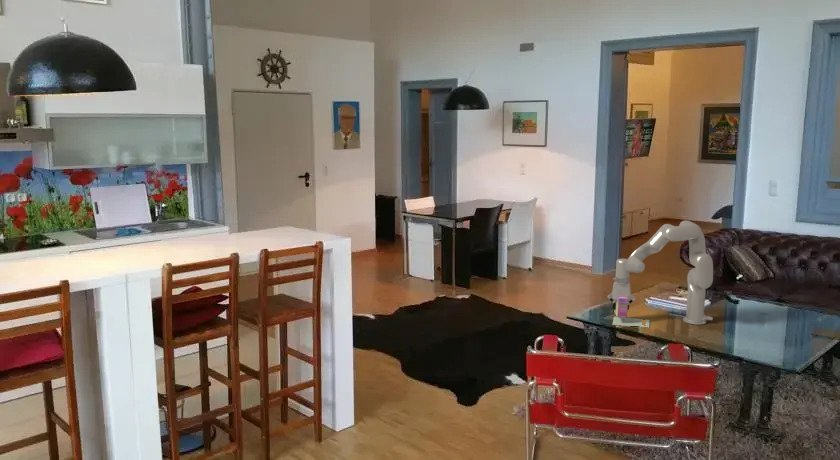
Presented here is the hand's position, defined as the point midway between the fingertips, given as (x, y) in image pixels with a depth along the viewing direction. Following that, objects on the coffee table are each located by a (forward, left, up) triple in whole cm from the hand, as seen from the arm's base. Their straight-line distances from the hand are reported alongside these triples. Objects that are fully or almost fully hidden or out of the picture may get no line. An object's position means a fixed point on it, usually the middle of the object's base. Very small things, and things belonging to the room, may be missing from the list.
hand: (620, 309), depth 390 cm
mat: (-6, 0, -7) cm, 9 cm away
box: (0, 0, -3) cm, 3 cm away
